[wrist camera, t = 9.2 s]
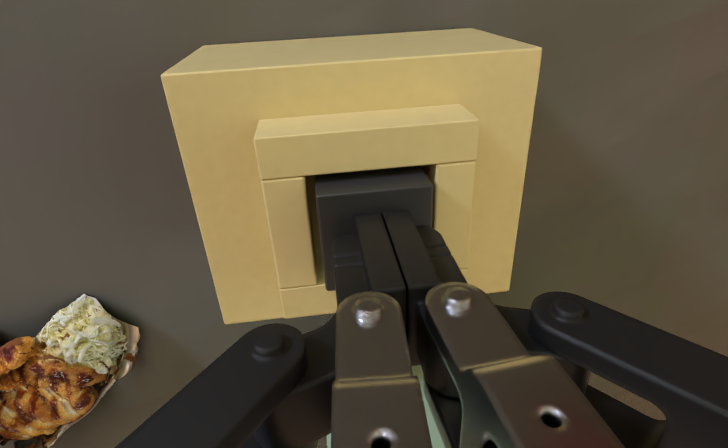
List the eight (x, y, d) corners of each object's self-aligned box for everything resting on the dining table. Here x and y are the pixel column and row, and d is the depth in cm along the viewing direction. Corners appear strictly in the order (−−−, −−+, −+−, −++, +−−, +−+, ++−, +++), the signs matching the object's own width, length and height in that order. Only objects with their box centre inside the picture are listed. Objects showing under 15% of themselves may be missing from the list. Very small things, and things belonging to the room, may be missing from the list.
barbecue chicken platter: (167, 338, 24) (148, 391, 21) (36, 449, 27) (1, 510, 24) (44, 261, 21) (-1, 310, 18) (-90, 395, 24) (-149, 457, 21)
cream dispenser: (242, 240, 22) (216, 361, 15) (202, 45, 18) (138, 88, 11) (460, 218, 23) (530, 322, 16) (472, 27, 19) (576, 56, 12)
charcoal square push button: (322, 257, 15) (326, 292, 13) (313, 168, 13) (315, 195, 12) (416, 247, 15) (430, 280, 14) (417, 158, 14) (434, 184, 12)
